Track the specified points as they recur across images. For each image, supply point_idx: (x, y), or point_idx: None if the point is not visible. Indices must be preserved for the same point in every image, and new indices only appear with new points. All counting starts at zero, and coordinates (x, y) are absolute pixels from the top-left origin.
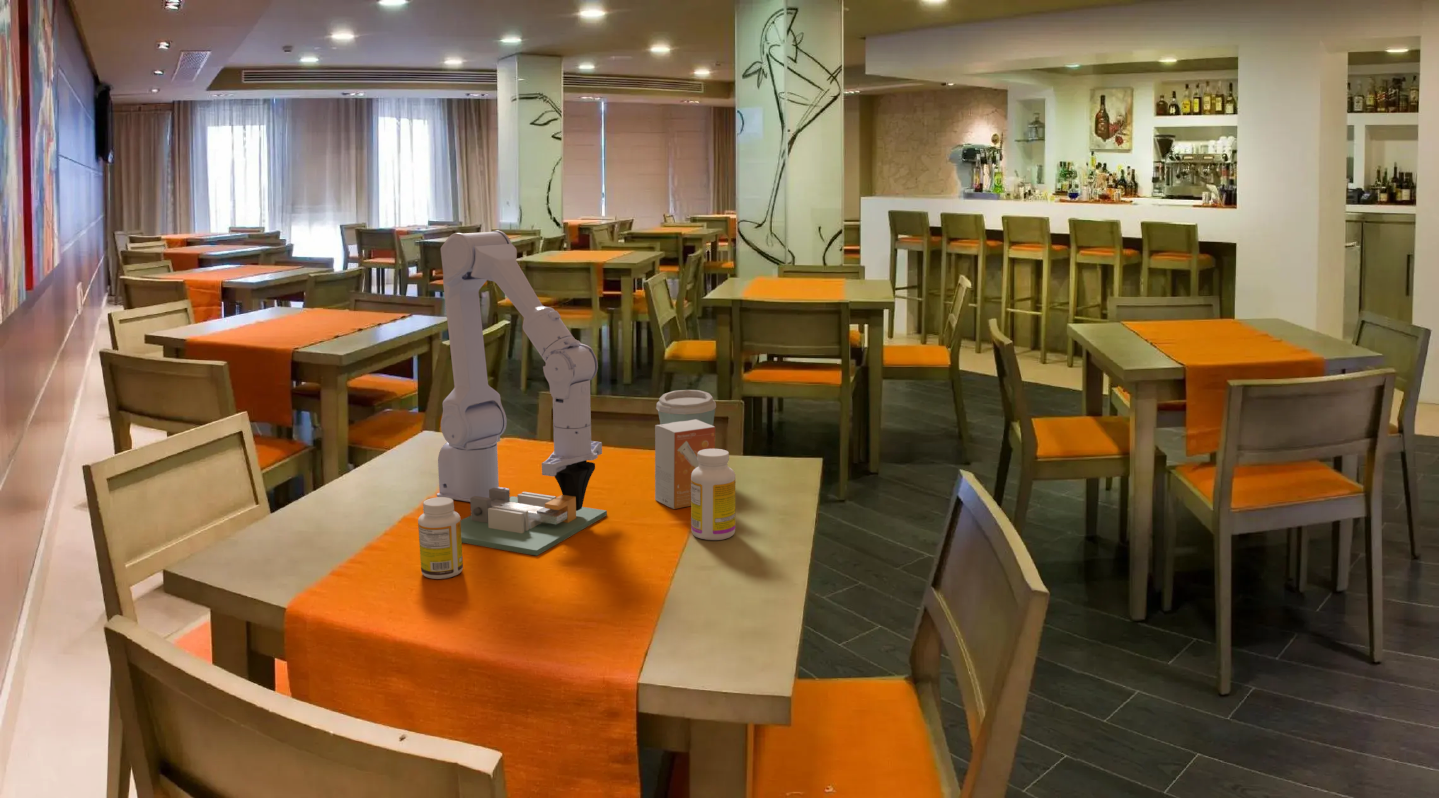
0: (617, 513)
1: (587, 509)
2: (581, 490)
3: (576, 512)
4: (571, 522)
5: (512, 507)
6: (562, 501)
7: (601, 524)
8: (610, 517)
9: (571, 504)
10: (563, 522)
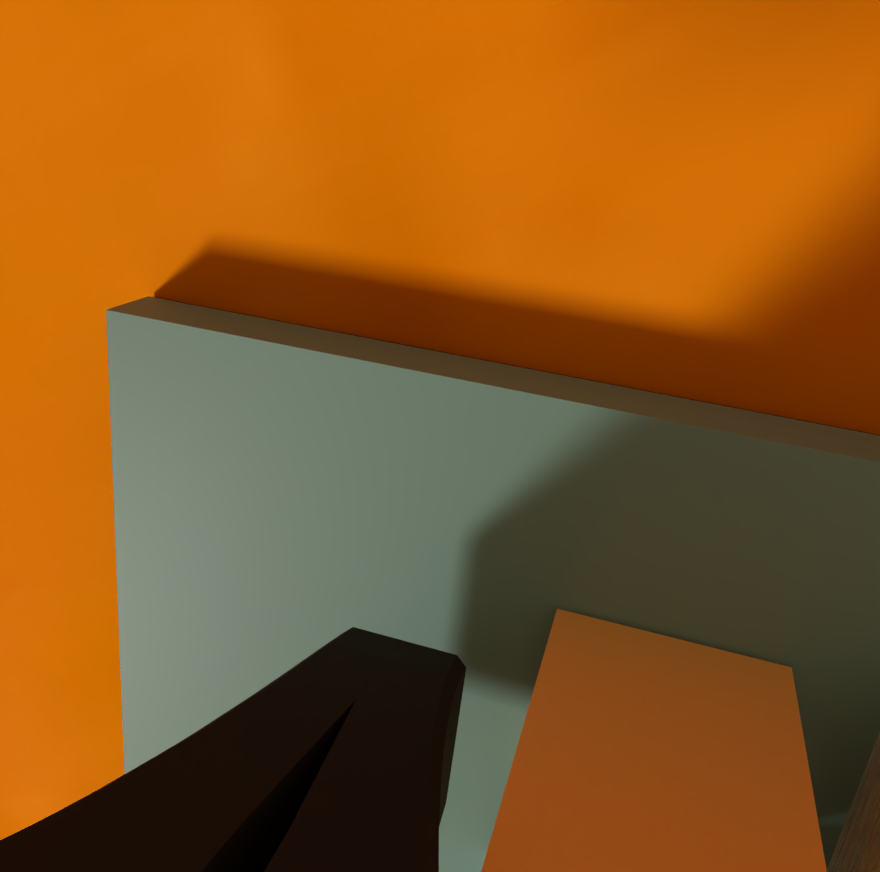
0: (26, 190)
1: (171, 564)
2: (304, 866)
3: None
4: (744, 625)
5: None
6: None
7: (499, 228)
8: (192, 219)
9: (668, 828)
10: None
